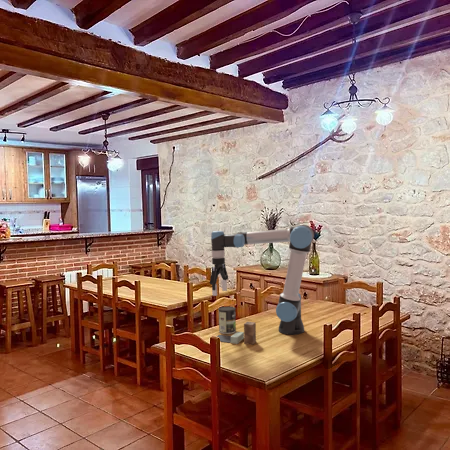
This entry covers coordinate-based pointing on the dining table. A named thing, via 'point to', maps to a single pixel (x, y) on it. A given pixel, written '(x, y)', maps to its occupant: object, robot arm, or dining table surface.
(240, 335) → the sage ledge
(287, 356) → the dining table surface
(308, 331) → the dining table surface
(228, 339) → the rubber mat
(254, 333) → the walnut block
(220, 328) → the coffee can
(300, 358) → the dining table surface
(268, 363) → the dining table surface
